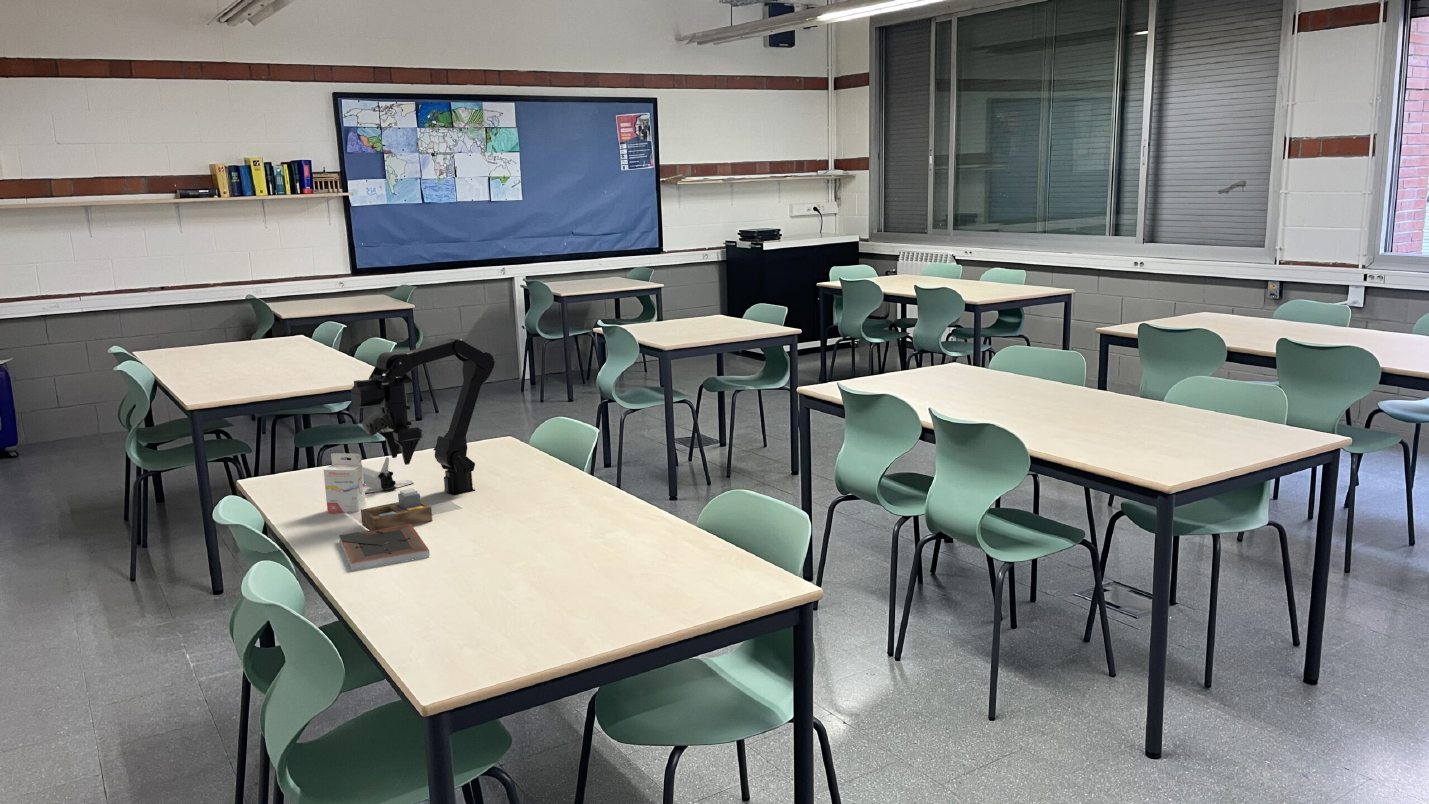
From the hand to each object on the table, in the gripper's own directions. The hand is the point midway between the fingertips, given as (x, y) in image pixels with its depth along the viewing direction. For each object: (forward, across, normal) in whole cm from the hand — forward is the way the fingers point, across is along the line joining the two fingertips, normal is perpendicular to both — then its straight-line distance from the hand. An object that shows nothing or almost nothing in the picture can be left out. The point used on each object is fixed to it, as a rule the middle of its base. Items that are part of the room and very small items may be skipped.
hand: (400, 461), depth 263 cm
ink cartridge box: (+12, -6, -13) cm, 19 cm away
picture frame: (+13, +30, -16) cm, 36 cm away
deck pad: (+12, +10, +6) cm, 17 cm away
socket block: (+12, +14, -7) cm, 20 cm away
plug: (+11, +14, -3) cm, 18 cm away
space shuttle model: (+13, -28, +2) cm, 31 cm away
